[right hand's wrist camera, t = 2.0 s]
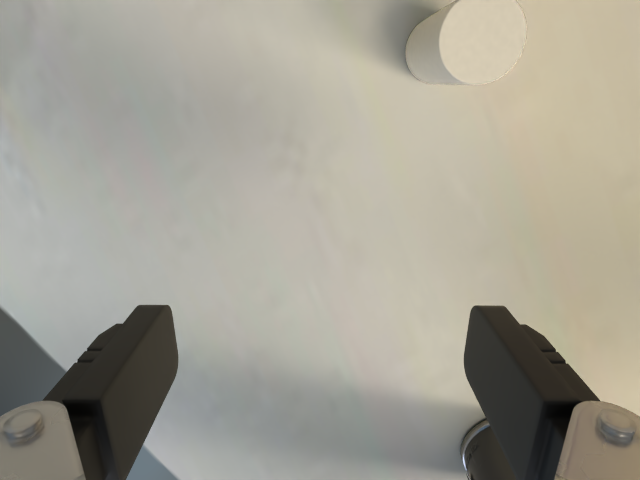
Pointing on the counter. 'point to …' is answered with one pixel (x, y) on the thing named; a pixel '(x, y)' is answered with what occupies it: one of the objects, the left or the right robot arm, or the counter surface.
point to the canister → (467, 42)
